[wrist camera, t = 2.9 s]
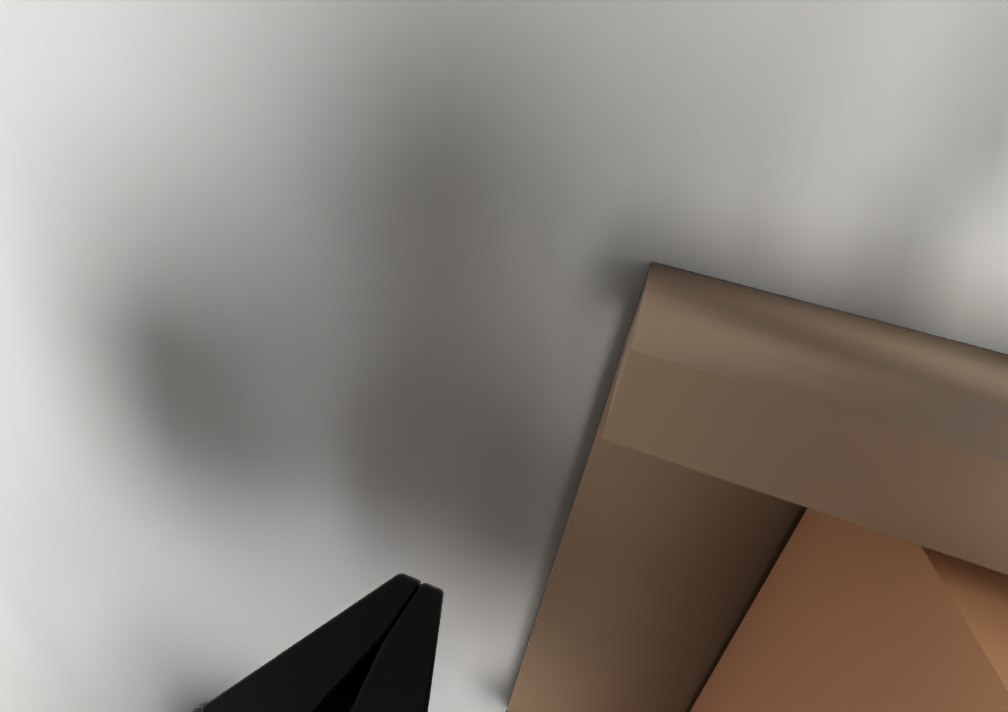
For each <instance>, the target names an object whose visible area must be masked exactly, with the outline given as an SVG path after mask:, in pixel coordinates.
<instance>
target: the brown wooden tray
mask: <svg viewBox="0 0 1008 712" xmlns="http://www.w3.org/2000/svg"><path fill="white" fill-rule="evenodd" d="M807 508H810V509H813V510H816V511H819V512H822V513H825V514H828V515H831V516H834V517H837V518H840V519H843V520H846V521H849V522H852V523H854V524H857V525H860V526H863V527H866V528H869V529H872V530H875V531H878V532H881V533H884V534H887V535H890V536H893V537H896V538H899V539H902V540H905V541H908V542H911V543H914V544H917V545H920V546H923V547H926V548H929V549H932V550H935V551H938V552H941V553H944V554H947V555H950V556H953V557H956V558H959V559H962V560H965V561H968V562H971V563H974V564H977V565H980V566H983V567H986V568H989V569H992V570H995V571H998V572H1001V573H1004V574H1007V575H1008V355H1006V354H1002V353H999V352H995V351H991V350H987V349H983V348H979V347H976V346H972V345H968V344H964V343H960V342H957V341H953V340H949V339H945V338H941V337H937V336H934V335H930V334H926V333H922V332H918V331H915V330H911V329H907V328H903V327H899V326H895V325H892V324H888V323H884V322H880V321H876V320H873V319H869V318H865V317H861V316H857V315H853V314H850V313H846V312H842V311H838V310H834V309H830V308H827V307H823V306H819V305H815V304H811V303H808V302H804V301H800V300H796V299H792V298H788V297H785V296H781V295H777V294H773V293H769V292H766V291H762V290H758V289H754V288H750V287H746V286H743V285H739V284H735V283H731V282H727V281H723V280H720V279H716V278H712V277H708V276H704V275H701V274H697V273H693V272H689V271H685V270H681V269H678V268H674V267H670V266H666V265H662V264H659V263H655V262H651V265H650V268H649V271H648V274H647V277H646V280H645V283H644V286H643V290H642V293H641V296H640V299H639V302H638V305H637V308H636V311H635V314H634V317H633V320H632V324H631V327H630V330H629V333H628V336H627V339H626V342H625V345H624V348H623V351H622V354H621V358H620V361H619V364H618V367H617V370H616V373H615V376H614V379H613V382H612V385H611V389H610V392H609V395H608V398H607V401H606V404H605V407H604V410H603V413H602V416H601V419H600V423H599V426H598V429H597V432H596V435H595V438H594V441H593V444H592V447H591V450H590V453H589V457H588V460H587V463H586V466H585V469H584V472H583V475H582V478H581V481H580V484H579V488H578V491H577V494H576V497H575V500H574V503H573V506H572V509H571V512H570V515H569V518H568V522H567V525H566V528H565V531H564V534H563V537H562V540H561V543H560V546H559V549H558V552H557V556H556V559H555V562H554V565H553V568H552V571H551V574H550V577H549V580H548V583H547V587H546V590H545V593H544V596H543V599H542V602H541V605H540V608H539V611H538V614H537V617H536V621H535V624H534V627H533V630H532V633H531V636H530V639H529V642H528V645H527V648H526V651H525V655H524V658H523V661H522V664H521V667H520V670H519V673H518V676H517V679H516V682H515V686H514V689H513V692H512V695H511V698H510V701H509V704H508V707H507V710H506V712H690V711H691V709H692V707H693V705H694V704H695V702H696V700H697V699H698V697H699V695H700V693H701V692H702V690H703V688H704V686H705V685H706V683H707V681H708V680H709V678H710V676H711V674H712V673H713V671H714V669H715V667H716V666H717V664H718V662H719V660H720V659H721V657H722V655H723V654H724V652H725V650H726V648H727V647H728V645H729V643H730V641H731V640H732V638H733V636H734V635H735V633H736V631H737V629H738V628H739V626H740V624H741V622H742V621H743V619H744V617H745V615H746V614H747V612H748V610H749V609H750V607H751V605H752V603H753V602H754V600H755V598H756V596H757V595H758V593H759V591H760V589H761V588H762V586H763V584H764V583H765V581H766V579H767V577H768V576H769V574H770V572H771V570H772V569H773V567H774V565H775V564H776V562H777V560H778V558H779V557H780V555H781V553H782V551H783V550H784V548H785V546H786V544H787V543H788V541H789V539H790V538H791V536H792V534H793V532H794V531H795V529H796V527H797V525H798V524H799V522H800V520H801V519H802V517H803V515H804V513H805V512H806V510H807Z"/></svg>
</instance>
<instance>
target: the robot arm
mask: <svg viewBox="0 0 1008 712" xmlns="http://www.w3.org/2000/svg"><path fill="white" fill-rule="evenodd" d="M443 596H444V592H443V590H441V589H439V588H437V587H435V586H432V585H430V584H427V583H423V584H421V582H420V581H419V580H418V579H416V578H413V577H411V576H408V575H406V574H398V575H396V576H395V577H393V578H392V579H390V580H389V581H387V582H386V583H384V584H383V585H381V586H380V587H378V588H377V589H375V590H374V591H372V592H371V593H369V594H368V595H366V596H365V597H364V598H362V599H361V600H359V601H358V602H356V603H355V604H353V605H352V606H350V607H349V608H347V609H346V610H344V611H343V612H341V613H340V614H338V615H337V616H335V617H334V618H333V619H331V620H330V621H328V622H327V623H325V624H324V625H322V626H321V627H319V628H318V629H316V630H315V631H313V632H312V633H310V634H309V635H307V636H306V637H304V638H303V639H302V640H300V641H299V642H297V643H296V644H294V645H293V646H291V647H290V648H288V649H287V650H285V651H284V652H282V653H281V654H279V655H278V656H276V657H275V658H273V659H272V660H271V661H269V662H268V663H266V664H265V665H263V666H262V667H260V668H259V669H257V670H256V671H254V672H253V673H251V674H250V675H248V676H247V677H245V678H244V679H242V680H241V681H240V682H238V683H237V684H235V685H234V686H232V687H231V688H229V689H228V690H226V691H225V692H223V693H222V694H220V695H219V696H217V697H216V698H214V699H213V700H211V701H210V702H209V703H207V704H206V705H204V706H203V707H202V710H201V709H195V710H193V711H192V712H428V706H429V699H430V691H431V684H432V677H433V669H434V662H435V655H436V647H437V640H438V633H439V625H440V618H441V611H442V604H443Z"/></svg>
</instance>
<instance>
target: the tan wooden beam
mask: <svg viewBox="0 0 1008 712" xmlns="http://www.w3.org/2000/svg"><path fill="white" fill-rule="evenodd" d="M690 712H1008V575H1007V574H1004V573H1001V572H998V571H995V570H992V569H989V568H986V567H983V566H980V565H977V564H974V563H971V562H968V561H965V560H962V559H959V558H956V557H953V556H950V555H947V554H944V553H941V552H938V551H935V550H932V549H929V548H926V547H923V546H920V545H917V544H914V543H911V542H908V541H905V540H902V539H899V538H896V537H893V536H890V535H887V534H884V533H881V532H878V531H875V530H872V529H869V528H866V527H863V526H860V525H857V524H854V523H852V522H849V521H846V520H843V519H840V518H837V517H834V516H831V515H828V514H825V513H822V512H819V511H816V510H813V509H810V508H807V510H806V512H805V513H804V515H803V517H802V519H801V520H800V522H799V524H798V525H797V527H796V529H795V531H794V532H793V534H792V536H791V538H790V539H789V541H788V543H787V544H786V546H785V548H784V550H783V551H782V553H781V555H780V557H779V558H778V560H777V562H776V564H775V565H774V567H773V569H772V570H771V572H770V574H769V576H768V577H767V579H766V581H765V583H764V584H763V586H762V588H761V589H760V591H759V593H758V595H757V596H756V598H755V600H754V602H753V603H752V605H751V607H750V609H749V610H748V612H747V614H746V615H745V617H744V619H743V621H742V622H741V624H740V626H739V628H738V629H737V631H736V633H735V635H734V636H733V638H732V640H731V641H730V643H729V645H728V647H727V648H726V650H725V652H724V654H723V655H722V657H721V659H720V660H719V662H718V664H717V666H716V667H715V669H714V671H713V673H712V674H711V676H710V678H709V680H708V681H707V683H706V685H705V686H704V688H703V690H702V692H701V693H700V695H699V697H698V699H697V700H696V702H695V704H694V705H693V707H692V709H691V711H690Z"/></svg>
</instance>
